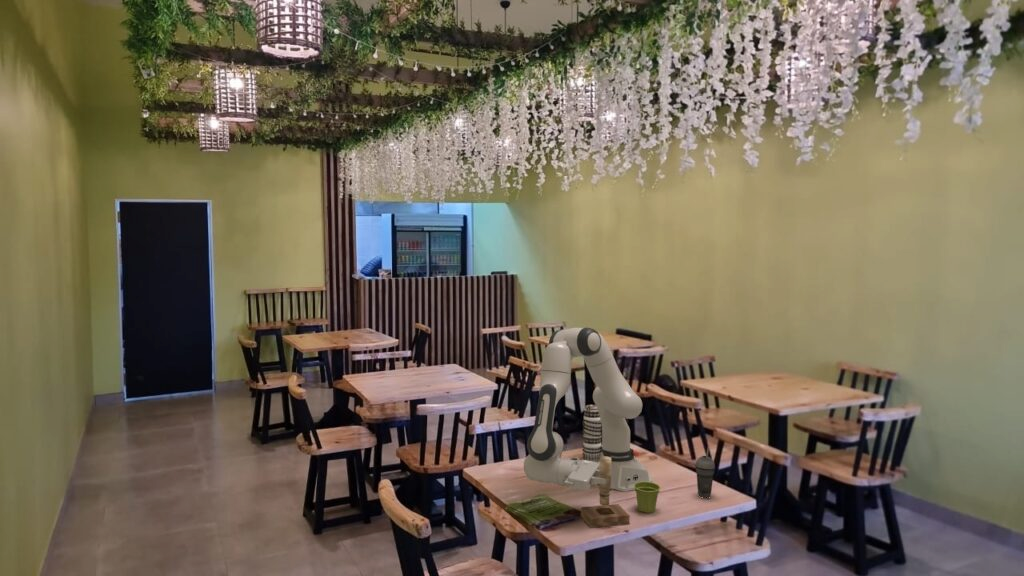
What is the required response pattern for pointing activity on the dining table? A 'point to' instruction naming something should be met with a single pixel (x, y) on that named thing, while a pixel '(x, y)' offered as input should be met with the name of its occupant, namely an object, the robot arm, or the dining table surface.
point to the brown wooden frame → (605, 515)
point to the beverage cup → (704, 475)
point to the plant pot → (646, 496)
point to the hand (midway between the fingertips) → (607, 478)
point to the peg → (606, 473)
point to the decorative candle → (592, 434)
